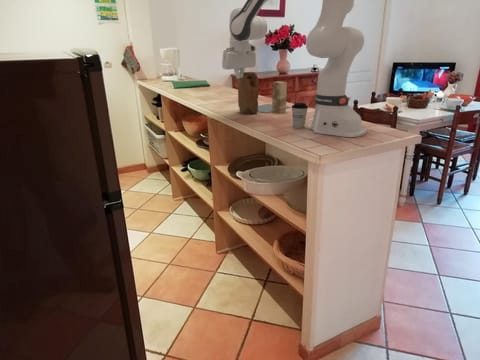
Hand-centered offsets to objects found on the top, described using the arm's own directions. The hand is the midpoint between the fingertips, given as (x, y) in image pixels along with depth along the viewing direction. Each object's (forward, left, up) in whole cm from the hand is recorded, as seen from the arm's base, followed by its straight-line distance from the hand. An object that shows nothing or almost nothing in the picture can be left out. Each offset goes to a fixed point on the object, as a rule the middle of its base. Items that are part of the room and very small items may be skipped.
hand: (239, 78), depth 166 cm
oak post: (-11, -18, -18) cm, 27 cm away
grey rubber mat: (0, -22, -18) cm, 28 cm away
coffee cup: (-37, +3, -18) cm, 41 cm away
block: (0, -7, -18) cm, 19 cm away
